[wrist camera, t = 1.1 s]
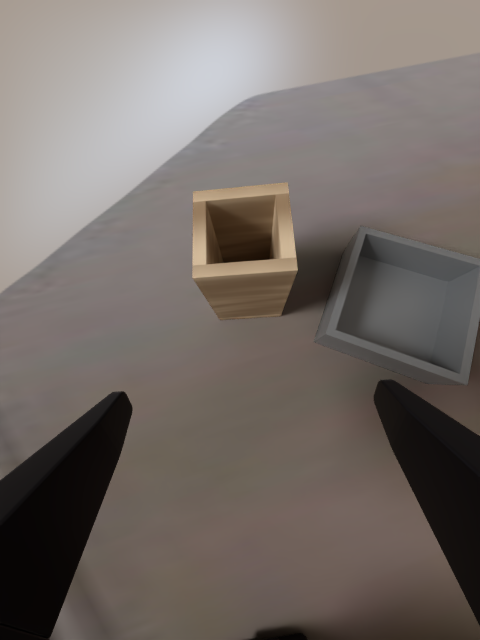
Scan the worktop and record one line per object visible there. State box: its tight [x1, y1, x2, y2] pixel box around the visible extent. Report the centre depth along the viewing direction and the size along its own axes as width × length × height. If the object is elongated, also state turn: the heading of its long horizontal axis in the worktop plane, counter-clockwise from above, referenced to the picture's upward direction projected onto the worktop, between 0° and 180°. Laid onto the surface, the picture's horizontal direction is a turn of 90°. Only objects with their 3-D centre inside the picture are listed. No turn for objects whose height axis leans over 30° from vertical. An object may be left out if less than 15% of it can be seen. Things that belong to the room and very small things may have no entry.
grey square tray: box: [314, 226, 480, 385], centre depth 20 cm, size 10×10×4 cm
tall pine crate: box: [193, 183, 298, 320], centre depth 19 cm, size 6×6×10 cm
